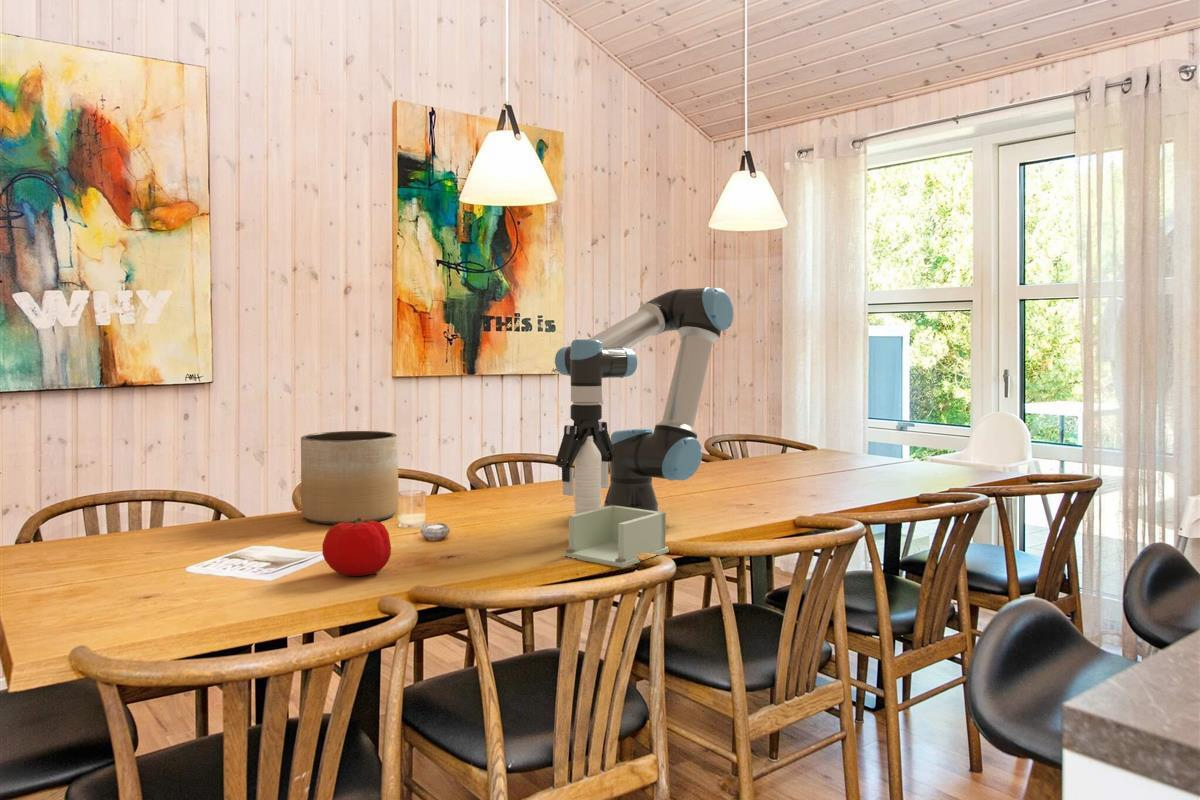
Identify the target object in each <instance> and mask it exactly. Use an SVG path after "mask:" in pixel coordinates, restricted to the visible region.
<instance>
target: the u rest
mask: <svg viewBox="0 0 1200 800" xmlns="http://www.w3.org/2000/svg"><path fill="white" fill-rule="evenodd" d="M666 524H667V523H666V512H662V511H658V512H657V511H650V510H643V509H636V508H629V507H622V506H615V505H610V506H606V507H604V506H603V507H602V506H601V508H598V509H594V510H590V511H586V512H582V513H578V514H575V513H574V514H570V515H568V549H565V551H564V553H563V557H564V556H568V557H567V558H569V557H574V558H577V559H576V560H579V561H586V562H590V563H595V564H601V565H605V566H606V565H607V566H612V567H616V568H622V569H625V568H626V567H630V566H632V565H636V564H638V563H641V562H640V561H639V559H638V558H637V557H636V556H637V554H638V553H650V554H656V555H659V556H661V555H664V554H667V553H669V548H668V547H669V546H666ZM574 558H573V559H574Z"/></svg>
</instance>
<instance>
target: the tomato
mask: <svg viewBox="0 0 1200 800" xmlns="http://www.w3.org/2000/svg"><path fill="white" fill-rule="evenodd" d="M321 546H322V555H323V558H324V561H325V563H326V564H327V565H328V566H329V568H330V569H332V570H333V571H334V572H336V573H337V574H341V575H345V576H348V577H361V576H368V575H371V574H376V573H378V572H380V571H381V570H383V568H385V566H386V564H388V562H389V559H390V557H391V554H392V546H391V541H390V534H389V532H388V530H387V528H386V526H385V524H383V523H382V522H380V521H373V520H369V519H361V518H357V519H355V520H354V521H345V522H340V523H339V524H336V525H335V524H333V526H331V527H330V528H329V529H328V531H327V532H326V534H325V536H324V539H323V542H322V545H321Z"/></svg>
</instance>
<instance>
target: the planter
mask: <svg viewBox="0 0 1200 800" xmlns="http://www.w3.org/2000/svg"><path fill="white" fill-rule="evenodd" d="M398 458H399V457H398V435H397V434H396V433H394V432H389V431H381V430H380V431H379V430H378V431H377V430H347V431H346V430H345V431H327V432H316V433H311V434H307V435H303V436H301V437H300V497H301V498H300V503H301V504H300V506H301V515H302V517H303V518H304V519H306V520H307V521H310V522H311V523H317V524H323V525H336V524H339V523H340V522H345V521H354V520H355V519H357V518H361V519H369V520H373V521H376V522H380V521H383V520H386V519H389V518H391V517H393V516H394V515H395V514H396V513H397V512H398V511H399V509H398V498H399V499H400V497H399V496H400V494H399V493H400V492H399V468H398V467H399V463H398V460H399V459H398Z"/></svg>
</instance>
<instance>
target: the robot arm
mask: <svg viewBox="0 0 1200 800" xmlns="http://www.w3.org/2000/svg"><path fill="white" fill-rule="evenodd" d="M733 321H734V307H733V303H732V300H731V298H730V296H729V295H728V293H727V292H726V291H725V290H724V289H722V288H721V287H720V288H719V287H707V286H706V287H703V288H702V287H701V288H700V287H699V288H698V287H697V288H696V287H695V288H677V289H672V290H670V291H667V292H664V293H662V294H661V295H658V296H655V297H654V298H651V300H648V301H647V302H645V303H643V304H641V305H640V306H639V308H638V309H637V311H636V312H634V313H632V314H631V315H629V316H627V317H625V318H624V319H622V320H619V322H616V323H615V324H613V325H611V326H609V327H608V328H605V329H604V330H602V331H601V332H599V333H597V334H595V335H592V336H591V337H590V338H587V339H583V338H582V339H581V338H579V339H576V338H575V339H573V340H572V341H571V343H570V346H569V345H568V346H564V347H561V348H560V349H558V350H557V351H556V353H555V356H554V365H555V368H556V371H557V372H558V373H559V374H561V375H563V376H568V377H570V402H571V403H572V404H571V405H570V419H571V420H572V421H573V424H572V425H568V424H567V425H564V427H563V436H562V439H561V443H560V446H559V449H558V453H557V456H556V459H555V461H554V463H555V466H557V467H558V468H561V482H562V496H570V497H573V496H574V497H575V493H574V490H575V467H572V466H573V465H574V463H575V461H574V460H575V458H576V456H577V454H578V452H579V450H580V448H581V446H582V445H584V443H585V441H586V439H587V437H588V436H591V435H592V436H593V442H594V444H595V445H596V447H597V448H598V450H599V451H600V453H601V489H608V490H607V492H606V496H605V500H604V503H603V507H606V506H610V505H615V506H622V507H629V508H636V509H643V510H650V511H657V512H659V503H658V500H657V496H656V493H655V490H654V487H653V478H656V479H663V480H664V479H665V480H668V481H686V480H688V479H690V478H691V477H693V476H694V475H695V474H696V472H697V471H698V469H699V468H700V465H701V462H702V459H703V451H702V444H701V443H700V441H699V440H698V433H697V432H696V430H695V428H694V426H695V421H696V418H697V413H698V410H699V405H700V400H701V397H702V392H703V391H702V390H703V387H704V382H705V378H706V373H707V371H708V369H707V368H708V366H709V361H710V356H711V352H712V347H713V345H714V344H716V343H718V342H719V341H720V336H721V332H724V331H726V330H728V329H729V328H730V327H731V326H732V324H733ZM670 331H671V332H673V331H677V332H678V334H679V336H680V338H681V340H680V344H679V348H678V353H677V356H676V359H675V360H676V361H675V365H674V368H673V374H672V377H671V382H670V387H669V389H668V395H667V398H666V403H665V408H664V412H663V416H662V420H661V421H660V422H658V423H656V424H655V426H654V429H652V428H651V427H647V428H646V427H643V428H631V429H623V430H616V431H615V430H614V431H613V432H612V434H611V435H609V431H608V422H606V421H601V420H602V418H603V415H602V414H603V412H602V411H603V410H602V409H603V408H602V407H603V406H602V404H600V403H602V401H603V385H602V384H603V383H602V382H603V379H610V378H612V379H613V378H620V379H622V378H626V377H627V378H628V377H631V376H632V375H633V374H634V373H635V372H636V370H637V368H638V357H637V354H636V353H635V351H634V350H633V349H631V348H632V347H634V346H635V345H637V344H638V343H640V342H642V341H644V340H645V339H647V338H648V337H650V336H653V337H654V336H659V335H661V334H663V333H665V332H670ZM609 472H610V473H609ZM609 474H610V475H609ZM609 477H610V479H609ZM609 481H610V483H609Z"/></svg>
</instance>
